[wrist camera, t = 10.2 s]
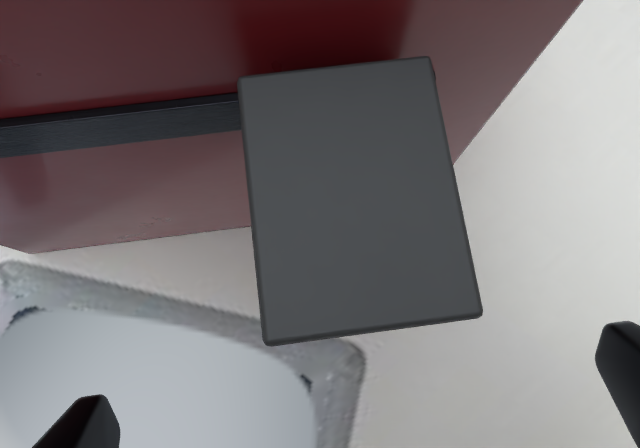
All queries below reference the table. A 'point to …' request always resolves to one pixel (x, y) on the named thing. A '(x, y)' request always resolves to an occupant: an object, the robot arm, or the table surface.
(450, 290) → the slider
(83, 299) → the table surface
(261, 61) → the toaster
